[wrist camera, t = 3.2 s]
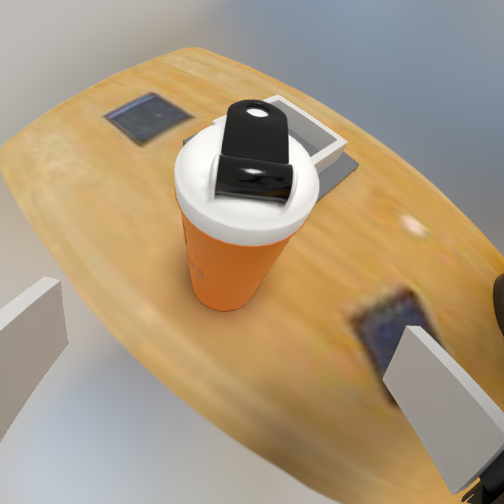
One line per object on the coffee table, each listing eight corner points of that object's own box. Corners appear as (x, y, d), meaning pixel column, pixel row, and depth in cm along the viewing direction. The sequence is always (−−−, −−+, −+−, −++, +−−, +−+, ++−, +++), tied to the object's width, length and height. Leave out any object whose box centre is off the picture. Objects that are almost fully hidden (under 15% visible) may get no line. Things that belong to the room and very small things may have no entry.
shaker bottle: (258, 244, 35) (313, 99, 18) (268, 317, 31) (358, 201, 13) (182, 246, 33) (178, 90, 16) (184, 322, 29) (166, 198, 12)
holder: (356, 168, 45) (369, 147, 41) (282, 231, 36) (293, 207, 32) (270, 105, 50) (276, 84, 46) (183, 145, 41) (183, 119, 37)
